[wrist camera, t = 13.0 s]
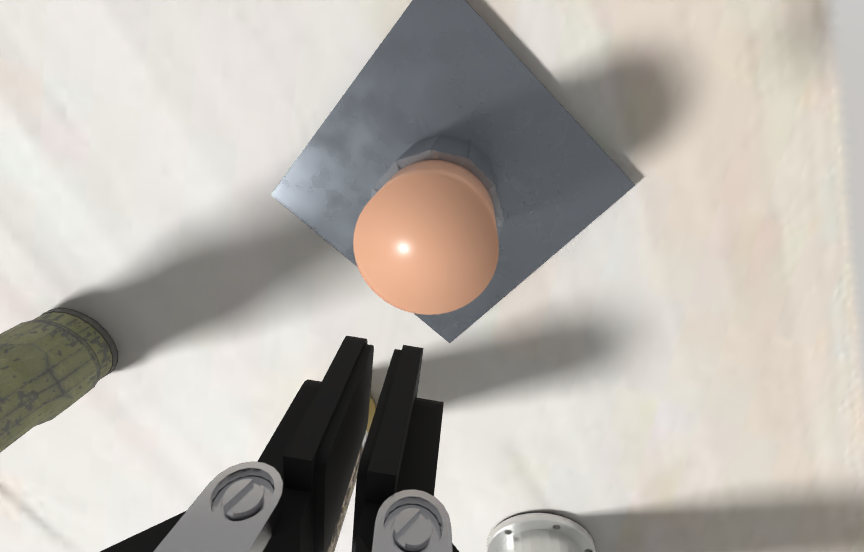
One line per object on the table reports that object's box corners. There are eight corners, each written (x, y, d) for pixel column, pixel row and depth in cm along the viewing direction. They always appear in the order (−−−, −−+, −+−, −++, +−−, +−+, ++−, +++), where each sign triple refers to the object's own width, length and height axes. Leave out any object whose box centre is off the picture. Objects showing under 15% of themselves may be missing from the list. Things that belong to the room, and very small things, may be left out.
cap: (512, 194, 30) (530, 250, 20) (444, 260, 32) (430, 338, 22) (439, 122, 28) (418, 143, 18) (374, 198, 31) (325, 252, 21)
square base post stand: (630, 182, 31) (683, 216, 23) (450, 337, 39) (443, 404, 31) (437, -28, 27) (419, -76, 19) (276, 191, 35) (214, 224, 26)
